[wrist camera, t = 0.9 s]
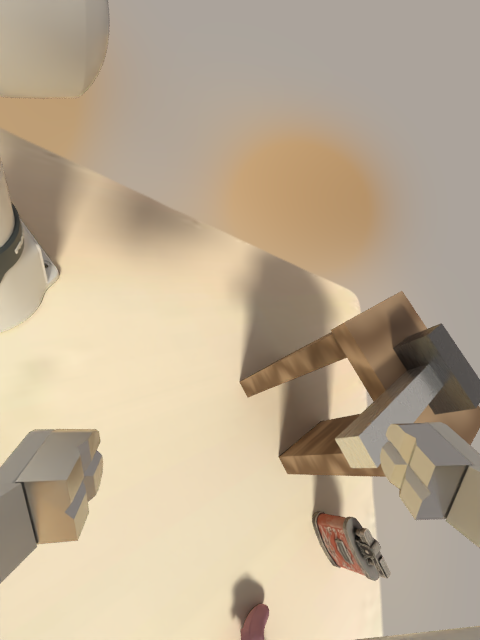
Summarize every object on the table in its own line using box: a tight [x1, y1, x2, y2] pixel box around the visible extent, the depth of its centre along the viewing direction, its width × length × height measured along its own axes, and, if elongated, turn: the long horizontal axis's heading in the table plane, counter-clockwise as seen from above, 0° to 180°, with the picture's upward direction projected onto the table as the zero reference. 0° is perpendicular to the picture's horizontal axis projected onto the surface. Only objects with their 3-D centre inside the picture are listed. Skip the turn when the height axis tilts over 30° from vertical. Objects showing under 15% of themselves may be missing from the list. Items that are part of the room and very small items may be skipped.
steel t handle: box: [335, 324, 480, 468], centre depth 27 cm, size 8×18×4 cm, turn 122°
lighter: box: [312, 512, 391, 581], centre depth 43 cm, size 8×3×10 cm, turn 30°
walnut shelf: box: [240, 291, 480, 477], centre depth 43 cm, size 18×14×26 cm
